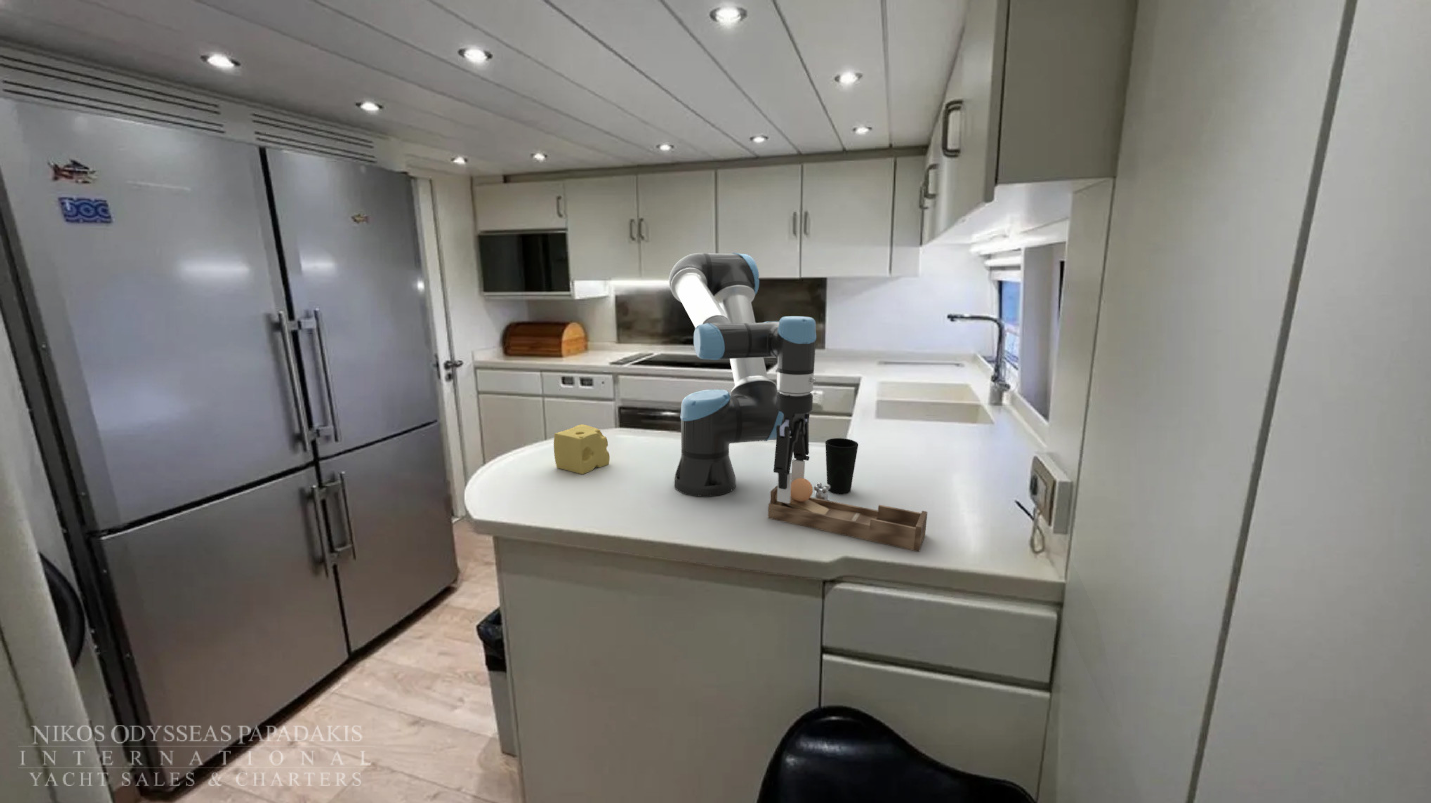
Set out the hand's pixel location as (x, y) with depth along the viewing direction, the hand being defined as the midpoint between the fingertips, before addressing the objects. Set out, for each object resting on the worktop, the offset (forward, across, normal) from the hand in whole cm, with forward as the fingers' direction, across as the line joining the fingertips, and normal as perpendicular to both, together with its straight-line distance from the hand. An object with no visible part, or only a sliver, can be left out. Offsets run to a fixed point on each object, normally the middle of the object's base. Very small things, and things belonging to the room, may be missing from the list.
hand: (790, 494), depth 122 cm
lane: (+5, 0, -12) cm, 13 cm away
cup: (+5, +19, -6) cm, 20 cm away
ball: (-2, 0, -2) cm, 3 cm away
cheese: (+5, +2, +60) cm, 61 cm away
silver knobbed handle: (+5, +8, -4) cm, 10 cm away
